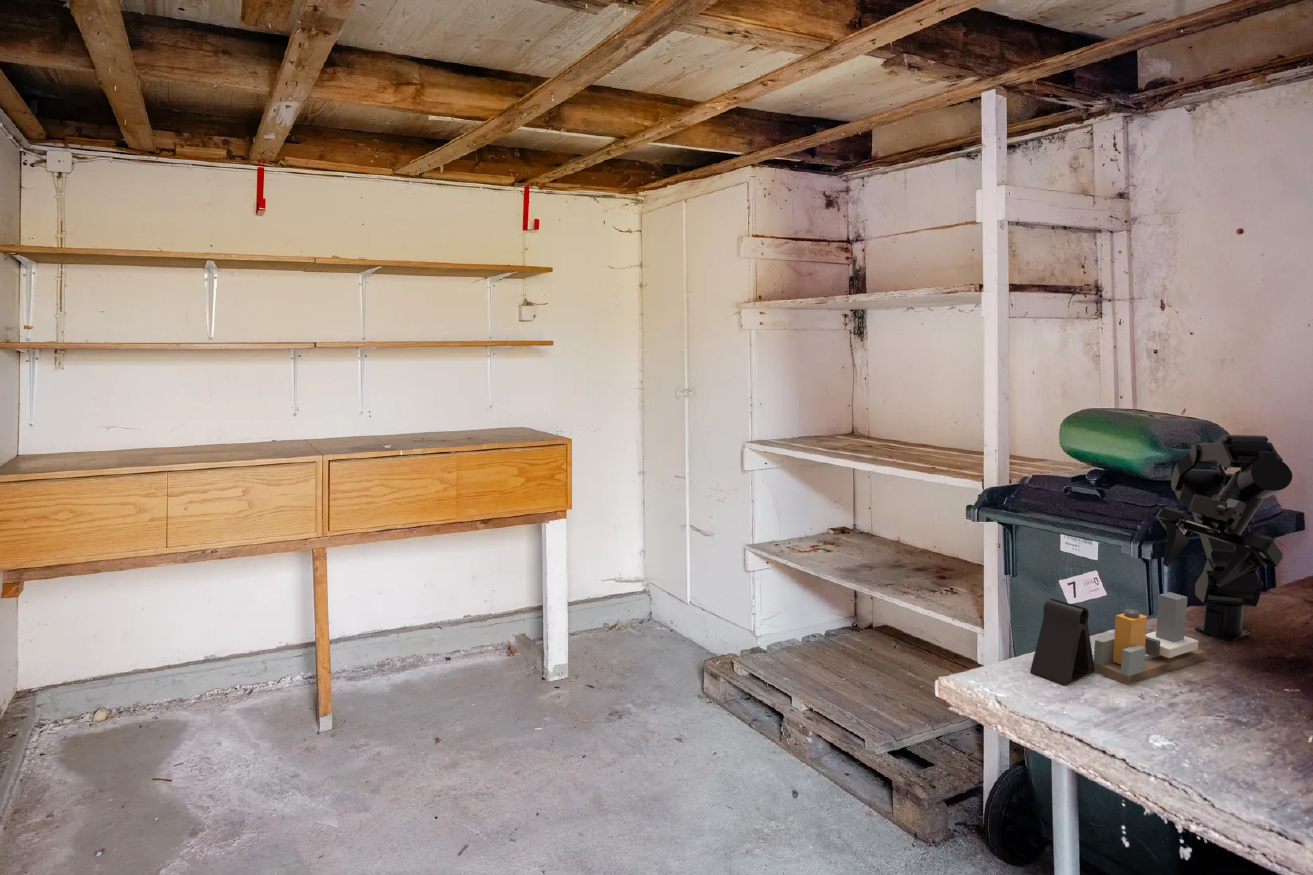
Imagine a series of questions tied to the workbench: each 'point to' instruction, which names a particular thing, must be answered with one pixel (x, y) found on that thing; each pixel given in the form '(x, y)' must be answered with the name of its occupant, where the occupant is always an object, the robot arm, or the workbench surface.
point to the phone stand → (1063, 644)
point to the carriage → (1170, 628)
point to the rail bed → (1151, 666)
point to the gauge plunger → (1128, 632)
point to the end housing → (1130, 656)
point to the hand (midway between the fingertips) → (1190, 574)
